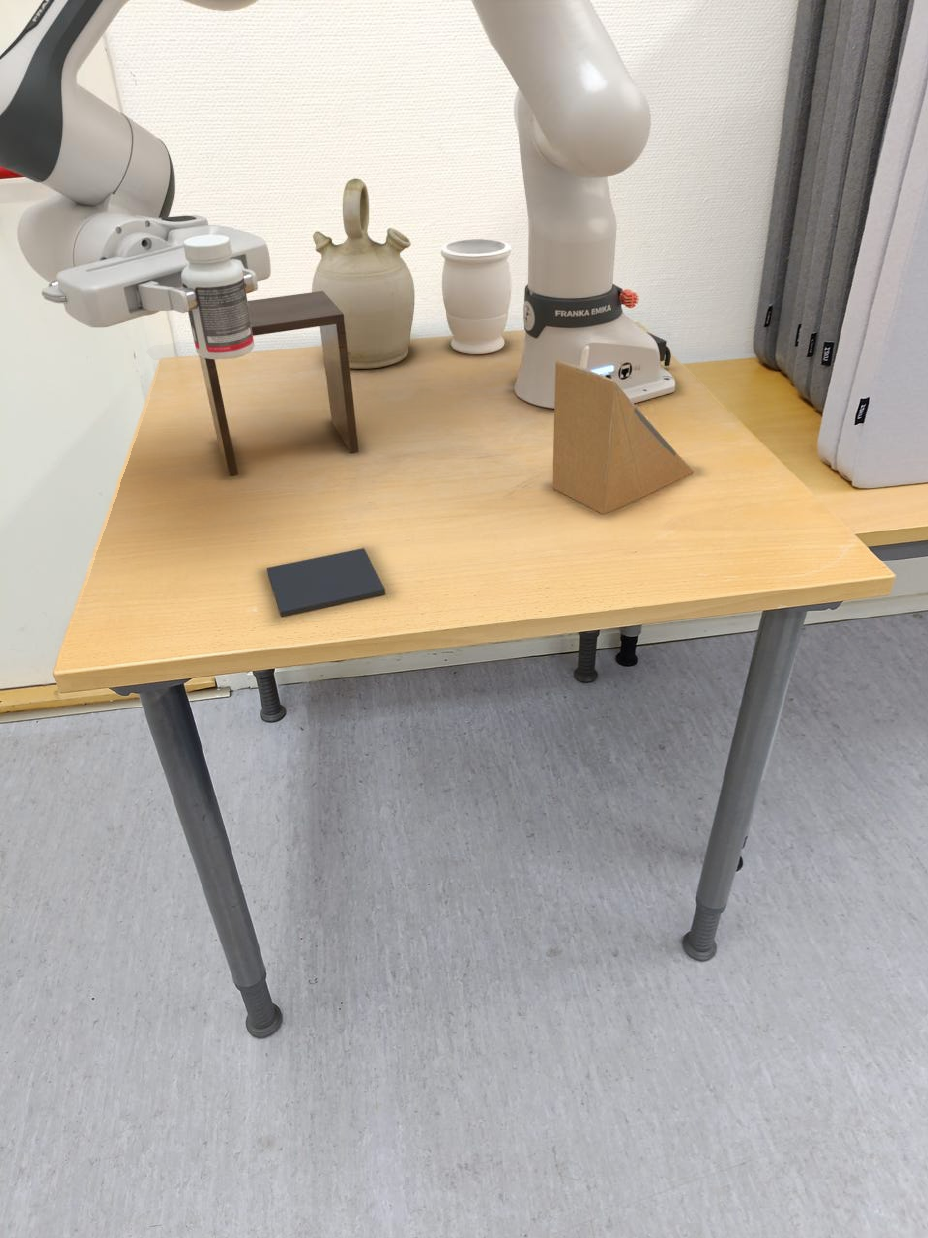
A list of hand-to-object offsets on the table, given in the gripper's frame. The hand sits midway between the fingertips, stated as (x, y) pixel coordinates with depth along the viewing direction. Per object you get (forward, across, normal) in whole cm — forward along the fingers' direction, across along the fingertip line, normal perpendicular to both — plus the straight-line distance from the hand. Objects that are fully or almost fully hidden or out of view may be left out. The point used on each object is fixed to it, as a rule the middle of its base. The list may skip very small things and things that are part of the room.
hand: (222, 292), depth 77 cm
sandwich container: (+24, +33, +25) cm, 48 cm away
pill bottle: (-1, 0, +6) cm, 6 cm away
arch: (-14, +16, +25) cm, 33 cm away
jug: (-29, +45, +26) cm, 60 cm away
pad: (+12, -3, +25) cm, 28 cm away
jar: (-18, +58, +26) cm, 66 cm away
